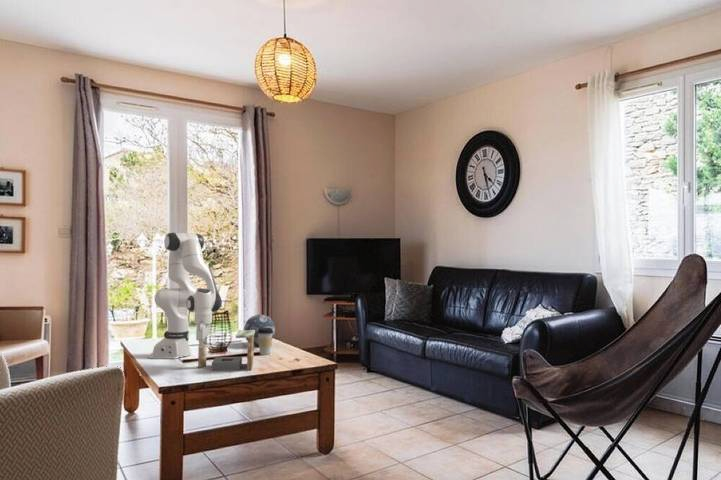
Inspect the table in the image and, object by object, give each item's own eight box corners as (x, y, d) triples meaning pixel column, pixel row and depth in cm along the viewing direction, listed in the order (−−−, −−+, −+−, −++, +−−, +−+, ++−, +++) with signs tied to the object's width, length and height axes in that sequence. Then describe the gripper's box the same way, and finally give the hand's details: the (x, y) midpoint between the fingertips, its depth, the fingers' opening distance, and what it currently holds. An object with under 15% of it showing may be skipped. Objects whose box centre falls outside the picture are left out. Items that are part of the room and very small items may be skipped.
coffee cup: (253, 355, 288) (254, 329, 288) (261, 351, 297) (262, 327, 297) (268, 356, 285) (268, 330, 285) (275, 353, 294) (276, 328, 294)
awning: (235, 371, 251) (235, 335, 252) (238, 363, 267) (239, 330, 267) (251, 370, 253) (252, 335, 253) (254, 363, 268) (254, 330, 269)
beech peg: (197, 368, 256) (197, 345, 256) (198, 366, 260) (199, 343, 260) (205, 368, 256) (205, 345, 256) (206, 366, 260) (207, 343, 260)
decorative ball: (281, 345, 318) (282, 314, 318) (258, 350, 301) (259, 317, 301) (259, 341, 329) (260, 311, 329) (236, 346, 312) (237, 314, 312)
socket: (211, 370, 252) (211, 362, 252) (215, 364, 264) (215, 357, 264) (239, 369, 254) (239, 362, 254) (241, 364, 266) (242, 356, 266)
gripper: (206, 322, 248) (205, 349, 248) (212, 317, 268) (212, 342, 268) (193, 322, 247) (192, 350, 247) (200, 317, 268) (200, 343, 267)
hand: (203, 346), depth 258 cm, fingers open, 8 cm apart
